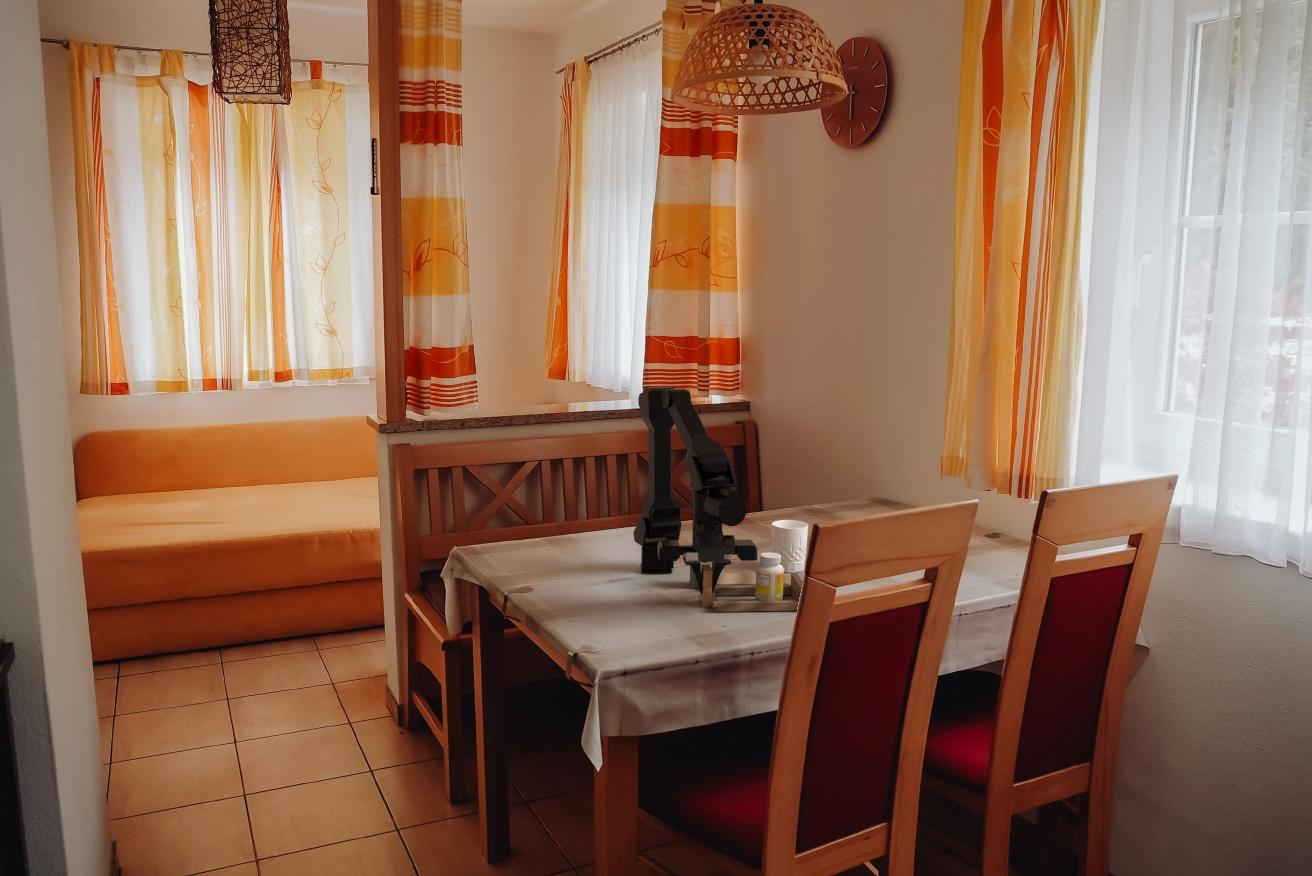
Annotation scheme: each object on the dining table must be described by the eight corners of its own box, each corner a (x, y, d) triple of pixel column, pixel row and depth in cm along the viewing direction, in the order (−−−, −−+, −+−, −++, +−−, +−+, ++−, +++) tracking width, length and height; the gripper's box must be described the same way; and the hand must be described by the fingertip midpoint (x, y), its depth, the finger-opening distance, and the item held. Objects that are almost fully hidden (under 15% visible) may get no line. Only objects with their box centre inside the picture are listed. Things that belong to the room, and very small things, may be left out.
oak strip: (692, 589, 197) (693, 556, 196) (689, 579, 204) (689, 547, 203) (788, 588, 198) (789, 555, 197) (782, 578, 205) (783, 546, 204)
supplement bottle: (758, 607, 187) (759, 559, 186) (752, 598, 192) (753, 551, 191) (785, 606, 188) (787, 558, 186) (779, 598, 193) (780, 551, 192)
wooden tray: (705, 611, 184) (705, 575, 183) (698, 593, 195) (699, 559, 193) (808, 610, 185) (809, 574, 184) (796, 592, 196) (797, 558, 195)
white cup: (805, 575, 209) (807, 529, 207) (768, 572, 210) (770, 527, 209) (807, 565, 216) (809, 520, 215) (772, 562, 218) (773, 519, 216)
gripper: (661, 525, 178) (661, 607, 180) (763, 524, 179) (761, 606, 182) (657, 511, 189) (657, 589, 191) (753, 510, 190) (751, 588, 193)
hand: (706, 593), depth 189 cm, fingers closed on wooden tray, 2 cm apart
